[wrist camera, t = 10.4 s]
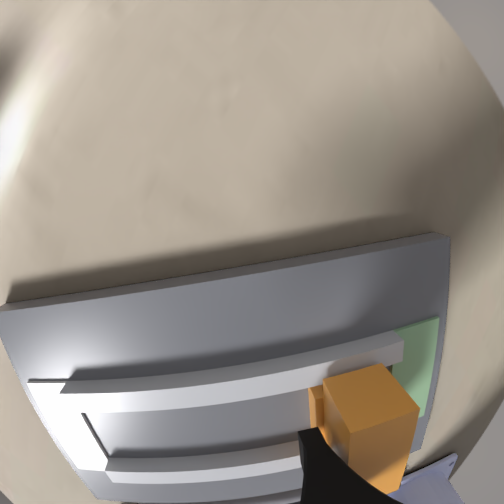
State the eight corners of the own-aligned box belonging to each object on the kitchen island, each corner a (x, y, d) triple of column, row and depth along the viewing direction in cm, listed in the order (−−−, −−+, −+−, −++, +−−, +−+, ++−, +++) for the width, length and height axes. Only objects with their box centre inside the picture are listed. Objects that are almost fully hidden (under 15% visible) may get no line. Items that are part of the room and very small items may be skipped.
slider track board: (412, 437, 16) (427, 458, 14) (100, 486, 14) (93, 510, 12) (434, 232, 13) (464, 241, 11) (4, 303, 11) (-21, 321, 9)
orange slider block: (369, 427, 13) (404, 487, 9) (311, 443, 13) (335, 511, 9) (374, 345, 12) (428, 405, 8) (305, 362, 12) (340, 436, 8)
